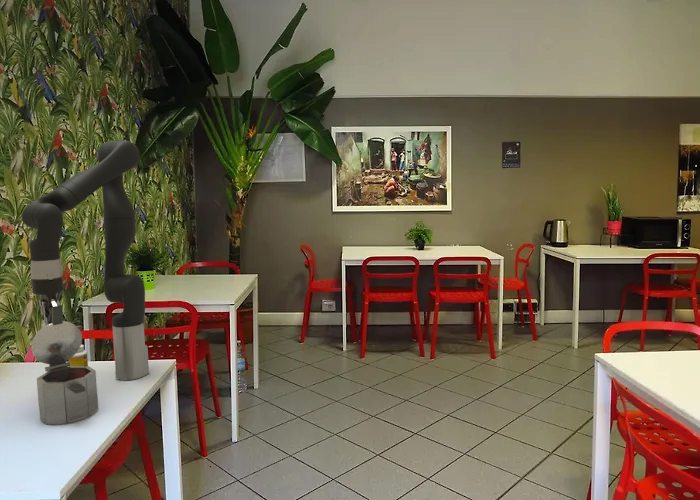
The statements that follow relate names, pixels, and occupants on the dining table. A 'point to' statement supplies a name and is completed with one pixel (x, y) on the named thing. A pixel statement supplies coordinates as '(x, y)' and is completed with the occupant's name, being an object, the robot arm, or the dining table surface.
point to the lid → (56, 341)
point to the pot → (67, 395)
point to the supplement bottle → (79, 358)
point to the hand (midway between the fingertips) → (51, 336)
